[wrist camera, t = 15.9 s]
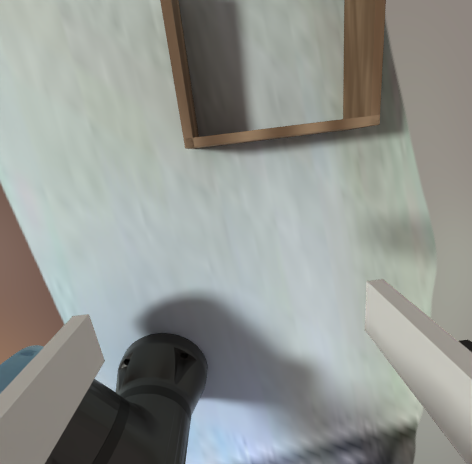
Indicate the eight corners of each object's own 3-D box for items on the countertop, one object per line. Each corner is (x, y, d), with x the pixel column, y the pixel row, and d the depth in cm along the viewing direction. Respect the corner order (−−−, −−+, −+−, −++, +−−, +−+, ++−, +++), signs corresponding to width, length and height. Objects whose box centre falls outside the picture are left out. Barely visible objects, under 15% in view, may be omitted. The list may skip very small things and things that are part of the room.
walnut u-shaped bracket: (193, 148, 35) (185, 148, 28) (169, -4, 30) (152, -48, 23) (350, 129, 35) (379, 124, 28) (353, -27, 30) (389, -78, 23)
